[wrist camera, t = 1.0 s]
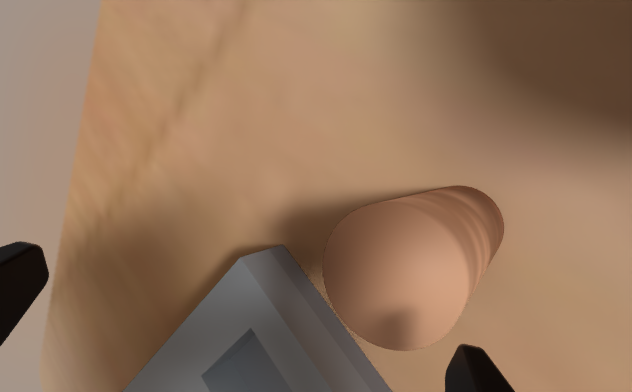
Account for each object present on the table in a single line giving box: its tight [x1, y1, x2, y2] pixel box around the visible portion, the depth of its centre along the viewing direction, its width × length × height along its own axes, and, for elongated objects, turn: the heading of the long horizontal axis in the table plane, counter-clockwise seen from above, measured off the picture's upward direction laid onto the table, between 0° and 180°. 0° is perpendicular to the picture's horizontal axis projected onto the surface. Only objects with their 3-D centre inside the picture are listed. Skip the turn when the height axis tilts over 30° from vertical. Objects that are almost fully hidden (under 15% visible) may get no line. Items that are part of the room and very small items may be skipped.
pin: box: [323, 186, 504, 351], centre depth 15 cm, size 4×4×10 cm
